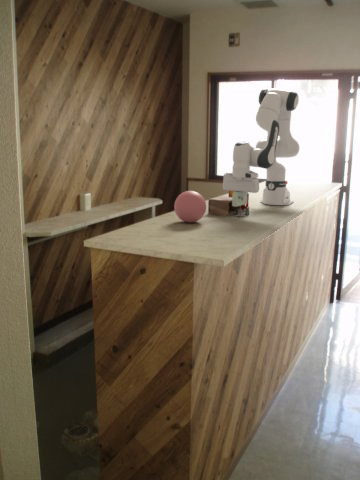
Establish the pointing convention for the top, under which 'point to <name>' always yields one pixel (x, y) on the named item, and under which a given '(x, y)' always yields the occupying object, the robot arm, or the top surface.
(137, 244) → the top surface
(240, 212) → the cabinet
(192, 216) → the balloon
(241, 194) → the door
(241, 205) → the mug
